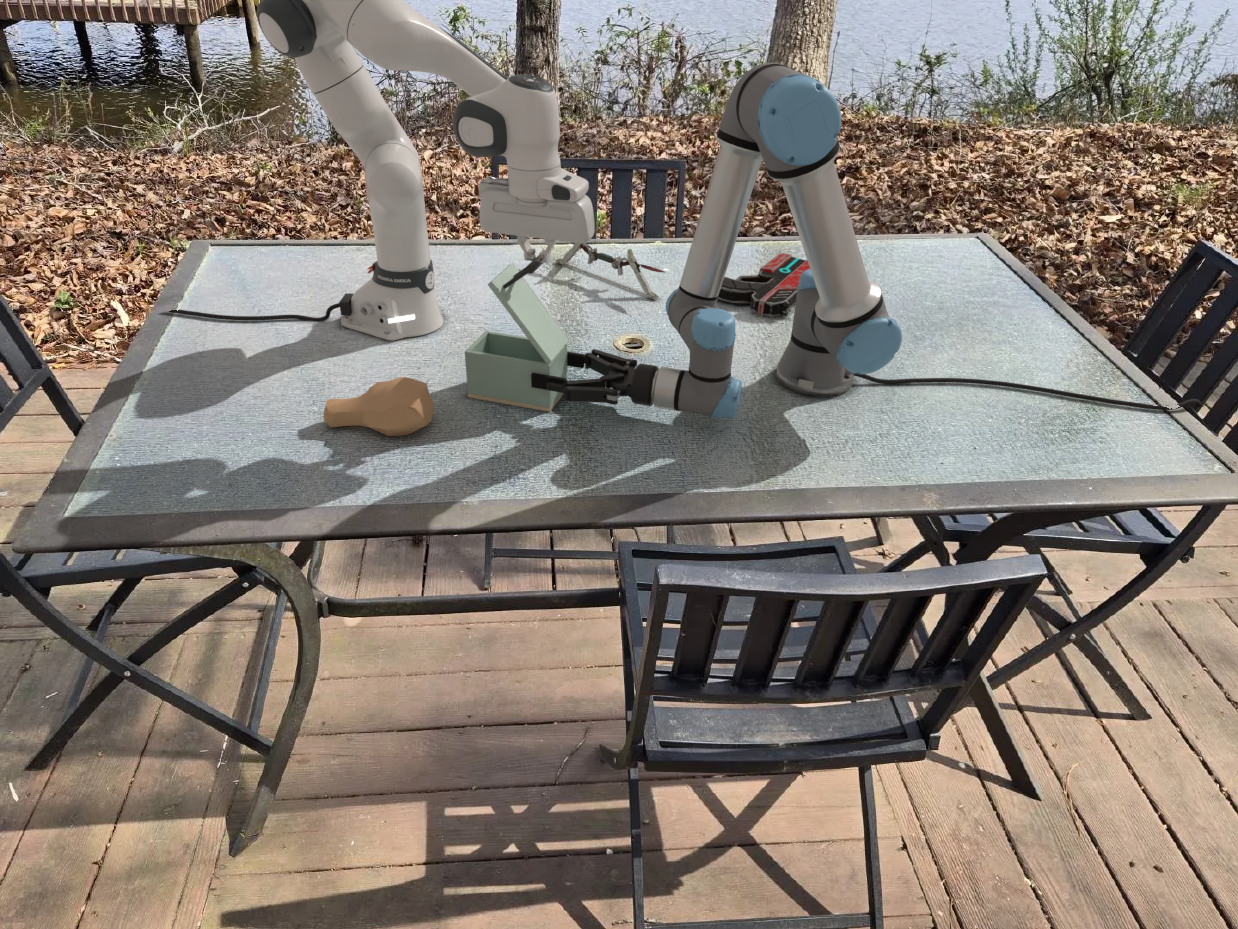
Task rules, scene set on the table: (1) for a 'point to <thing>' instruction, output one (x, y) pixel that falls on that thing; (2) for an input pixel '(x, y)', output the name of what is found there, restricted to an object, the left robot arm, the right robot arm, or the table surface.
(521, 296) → the lid
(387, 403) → the squash
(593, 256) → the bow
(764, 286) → the gun
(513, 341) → the chest
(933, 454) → the table surface
